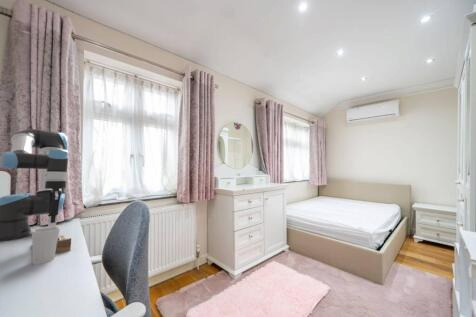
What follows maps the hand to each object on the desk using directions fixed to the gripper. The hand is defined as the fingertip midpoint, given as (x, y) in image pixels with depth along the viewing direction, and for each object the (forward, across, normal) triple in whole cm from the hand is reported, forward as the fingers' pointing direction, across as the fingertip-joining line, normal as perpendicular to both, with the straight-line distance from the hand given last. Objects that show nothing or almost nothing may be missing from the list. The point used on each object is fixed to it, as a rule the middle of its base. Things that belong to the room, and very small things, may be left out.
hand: (51, 229), depth 94 cm
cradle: (+8, +3, 0) cm, 8 cm away
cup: (+8, +21, -4) cm, 23 cm away
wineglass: (+5, -2, +1) cm, 5 cm away
